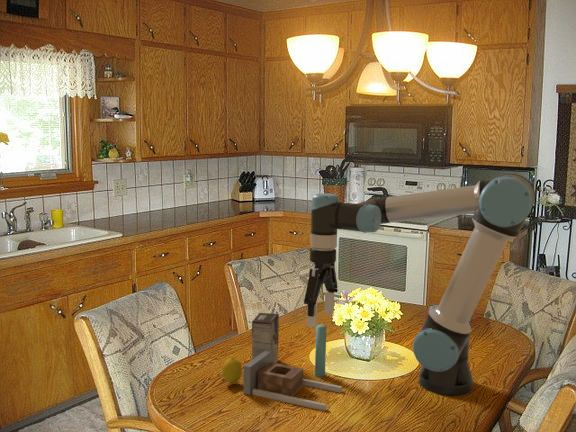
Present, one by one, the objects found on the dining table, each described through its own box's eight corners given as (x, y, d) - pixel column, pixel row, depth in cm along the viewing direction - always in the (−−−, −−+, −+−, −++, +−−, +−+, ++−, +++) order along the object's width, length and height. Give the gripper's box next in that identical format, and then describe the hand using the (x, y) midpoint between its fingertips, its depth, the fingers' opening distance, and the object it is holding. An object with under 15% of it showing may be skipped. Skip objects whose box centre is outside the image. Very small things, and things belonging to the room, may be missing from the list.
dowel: (326, 377, 180) (328, 325, 178) (322, 381, 177) (324, 328, 175) (317, 376, 181) (318, 324, 179) (313, 379, 178) (314, 327, 176)
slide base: (346, 394, 169) (347, 363, 168) (326, 417, 155) (327, 383, 154) (265, 377, 179) (266, 348, 178) (240, 397, 166) (241, 366, 164)
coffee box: (258, 361, 192) (259, 311, 189) (278, 363, 190) (279, 313, 188) (251, 372, 183) (251, 321, 180) (271, 374, 181) (272, 322, 179)
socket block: (302, 387, 170) (303, 368, 170) (290, 398, 163) (291, 379, 162) (270, 380, 175) (270, 362, 174) (257, 391, 167) (257, 372, 167)
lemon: (234, 390, 170) (234, 362, 169) (218, 385, 173) (218, 358, 172) (245, 383, 175) (245, 356, 174) (230, 378, 178) (230, 352, 177)
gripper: (326, 239, 186) (324, 306, 189) (293, 254, 164) (290, 330, 167) (350, 242, 183) (347, 310, 186) (319, 257, 161) (316, 335, 164)
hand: (320, 320), depth 177 cm, fingers open, 13 cm apart
